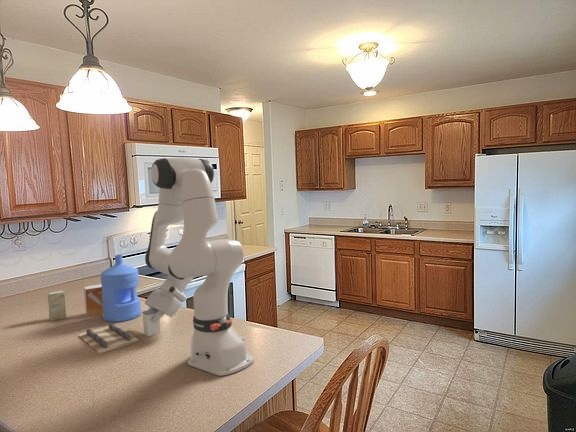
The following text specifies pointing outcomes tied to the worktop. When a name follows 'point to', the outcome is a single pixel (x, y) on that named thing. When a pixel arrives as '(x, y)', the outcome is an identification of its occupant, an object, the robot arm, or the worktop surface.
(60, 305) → the skincare box
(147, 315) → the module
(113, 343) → the rail board
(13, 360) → the worktop surface
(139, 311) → the water jug
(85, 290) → the small box
